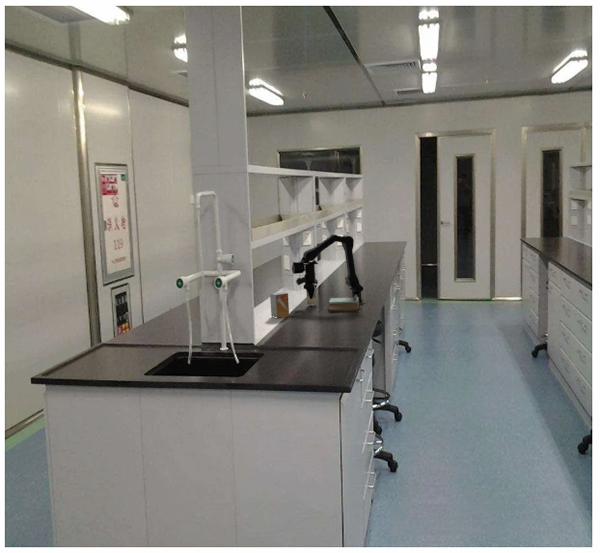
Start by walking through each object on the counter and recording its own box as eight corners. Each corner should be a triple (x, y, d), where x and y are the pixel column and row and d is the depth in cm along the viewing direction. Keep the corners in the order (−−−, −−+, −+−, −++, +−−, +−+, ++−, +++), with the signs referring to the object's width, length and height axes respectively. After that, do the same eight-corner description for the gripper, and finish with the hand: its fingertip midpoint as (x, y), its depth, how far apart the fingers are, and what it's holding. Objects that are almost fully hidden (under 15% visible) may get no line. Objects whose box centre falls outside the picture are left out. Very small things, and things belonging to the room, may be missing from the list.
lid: (330, 299, 342) (330, 294, 342) (358, 299, 340) (358, 293, 340) (328, 303, 331) (328, 298, 331) (357, 302, 329) (357, 297, 328)
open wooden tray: (331, 307, 343) (330, 300, 343) (358, 306, 341) (358, 299, 340) (329, 311, 331) (328, 304, 331) (357, 310, 329) (357, 303, 328)
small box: (277, 318, 321) (275, 294, 319) (271, 317, 326) (269, 293, 324) (289, 316, 325) (288, 292, 323) (283, 314, 330) (282, 291, 329)
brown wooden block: (308, 303, 353) (307, 288, 352) (316, 302, 353) (315, 287, 351) (307, 304, 349) (306, 289, 348) (315, 304, 348) (314, 289, 347)
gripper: (298, 270, 358) (300, 296, 361) (294, 275, 340) (295, 301, 342) (317, 269, 357) (318, 295, 359) (313, 274, 338) (314, 301, 341)
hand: (311, 298), depth 350 cm, fingers open, 5 cm apart
